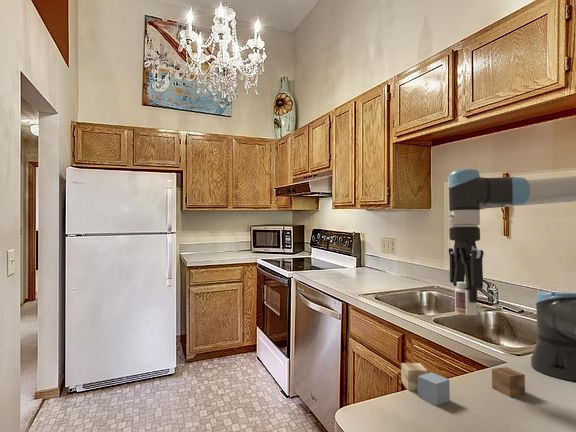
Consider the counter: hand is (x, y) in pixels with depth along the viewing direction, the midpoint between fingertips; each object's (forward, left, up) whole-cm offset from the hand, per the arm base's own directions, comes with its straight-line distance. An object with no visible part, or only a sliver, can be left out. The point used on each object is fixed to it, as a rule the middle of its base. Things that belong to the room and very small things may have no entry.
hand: (465, 312), depth 93 cm
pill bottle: (0, 0, -1) cm, 1 cm away
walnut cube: (-8, +5, -19) cm, 21 cm away
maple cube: (+15, +2, -19) cm, 24 cm away
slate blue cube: (+13, +9, -19) cm, 25 cm away
